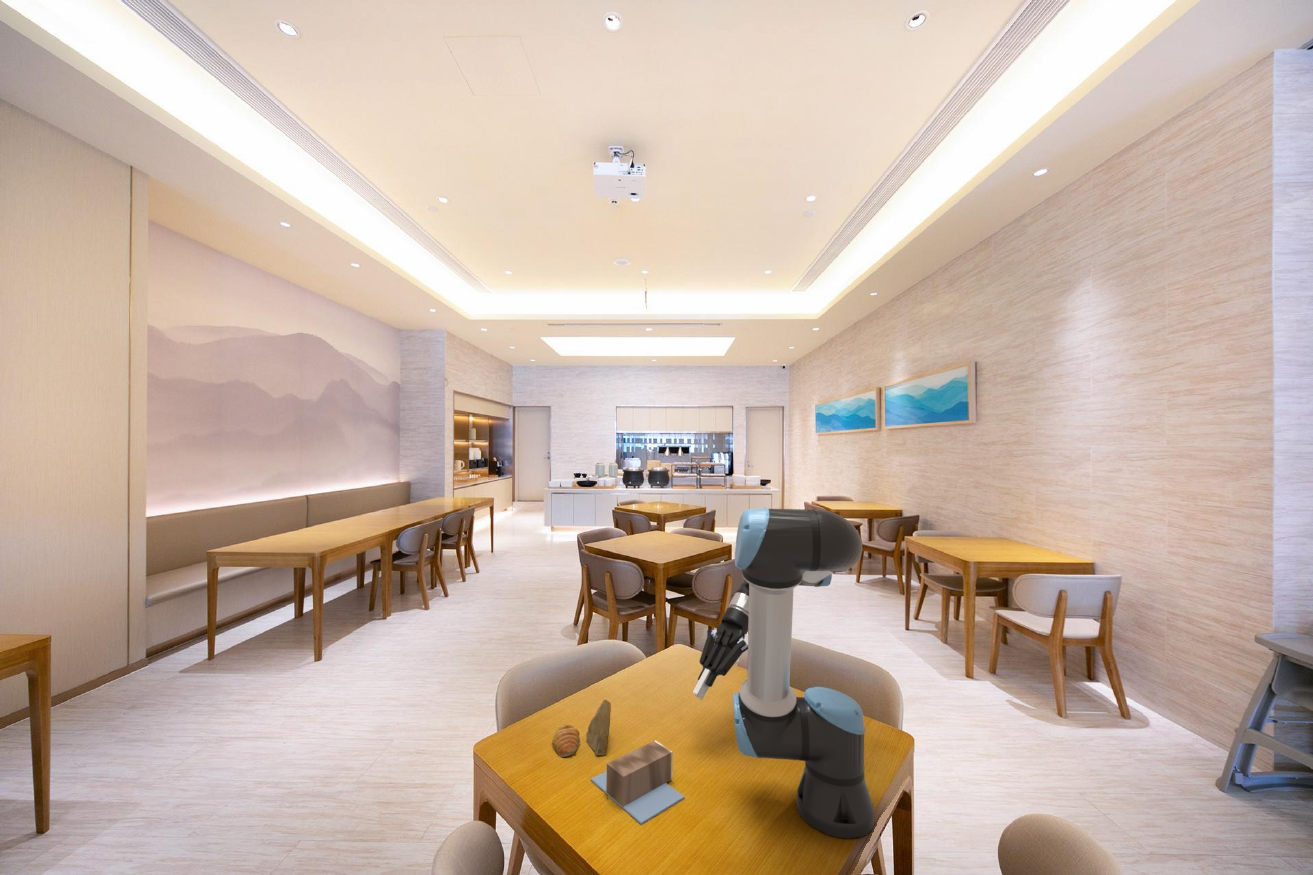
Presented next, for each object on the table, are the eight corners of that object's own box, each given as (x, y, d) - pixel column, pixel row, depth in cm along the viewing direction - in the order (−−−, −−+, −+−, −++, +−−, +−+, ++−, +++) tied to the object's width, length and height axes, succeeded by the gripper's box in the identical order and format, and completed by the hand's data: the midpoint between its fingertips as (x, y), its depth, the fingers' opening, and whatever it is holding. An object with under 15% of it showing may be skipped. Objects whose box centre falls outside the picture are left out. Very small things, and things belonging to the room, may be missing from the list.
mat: (684, 798, 106) (684, 796, 106) (641, 824, 98) (641, 822, 98) (632, 759, 119) (632, 758, 119) (590, 780, 111) (590, 778, 111)
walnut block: (672, 751, 112) (623, 776, 103) (672, 778, 112) (623, 806, 102) (655, 740, 116) (606, 763, 107) (655, 766, 116) (606, 791, 107)
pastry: (581, 757, 121) (581, 741, 121) (553, 761, 119) (553, 744, 119) (578, 736, 130) (578, 721, 130) (552, 739, 128) (552, 724, 128)
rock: (615, 750, 119) (626, 723, 129) (594, 721, 120) (607, 696, 130) (582, 770, 122) (596, 743, 131) (562, 741, 122) (577, 716, 132)
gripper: (766, 628, 131) (724, 713, 119) (728, 616, 140) (686, 694, 128) (753, 611, 128) (709, 697, 115) (715, 601, 137) (671, 679, 125)
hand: (697, 695), depth 122 cm, fingers closed
